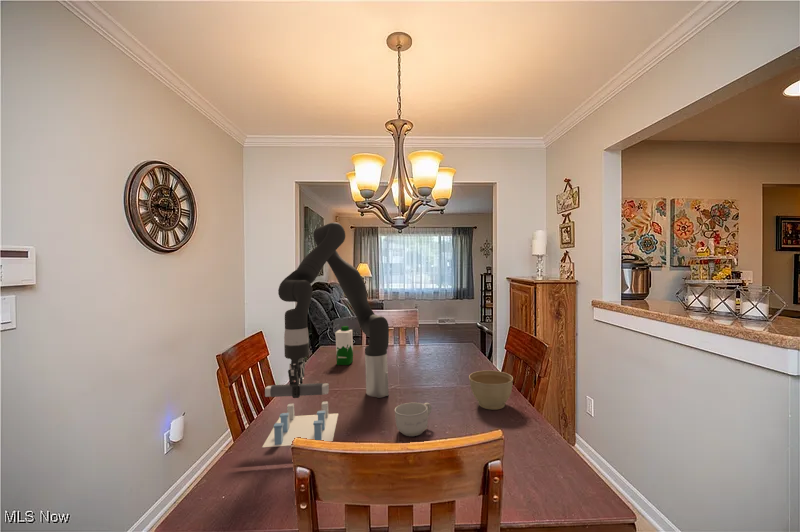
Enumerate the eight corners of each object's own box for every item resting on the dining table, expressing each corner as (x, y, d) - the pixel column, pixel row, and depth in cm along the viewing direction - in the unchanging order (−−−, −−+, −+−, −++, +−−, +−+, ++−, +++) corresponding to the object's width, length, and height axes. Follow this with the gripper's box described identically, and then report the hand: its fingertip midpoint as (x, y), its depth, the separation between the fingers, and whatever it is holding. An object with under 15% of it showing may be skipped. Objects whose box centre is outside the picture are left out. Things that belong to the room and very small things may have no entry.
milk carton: (354, 361, 201) (353, 325, 201) (350, 365, 192) (348, 328, 192) (339, 360, 203) (338, 325, 202) (334, 365, 194) (333, 328, 194)
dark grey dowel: (329, 392, 117) (328, 381, 117) (327, 396, 114) (327, 385, 114) (268, 394, 116) (267, 383, 116) (264, 398, 113) (264, 387, 113)
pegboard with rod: (338, 415, 131) (337, 398, 130) (332, 444, 110) (331, 424, 110) (279, 419, 129) (279, 401, 129) (262, 449, 108) (261, 428, 108)
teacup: (404, 443, 109) (404, 417, 109) (389, 429, 119) (388, 405, 119) (442, 432, 116) (442, 407, 116) (425, 419, 125) (424, 396, 125)
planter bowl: (484, 393, 147) (483, 367, 147) (521, 404, 136) (520, 375, 135) (461, 405, 136) (460, 377, 136) (499, 418, 124) (498, 387, 124)
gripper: (303, 346, 108) (305, 403, 108) (312, 337, 122) (313, 387, 122) (278, 347, 108) (279, 404, 108) (290, 337, 122) (291, 388, 122)
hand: (297, 394), depth 115 cm, fingers closed on dark grey dowel, 3 cm apart
